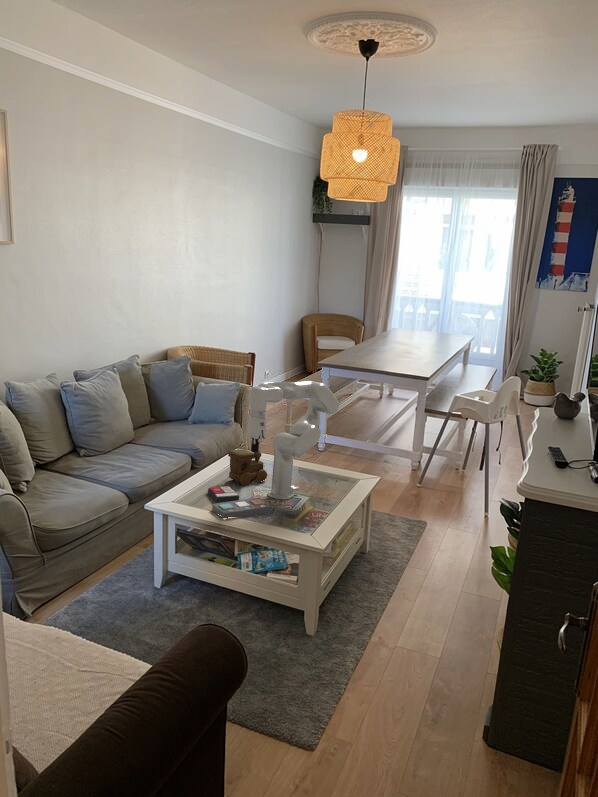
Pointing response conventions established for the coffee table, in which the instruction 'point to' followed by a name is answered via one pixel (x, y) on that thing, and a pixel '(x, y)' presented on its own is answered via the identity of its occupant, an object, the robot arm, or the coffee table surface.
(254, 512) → the dark grey flat block
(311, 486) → the coffee table surface
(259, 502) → the terracotta key
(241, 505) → the cream key
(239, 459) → the wooden toy train
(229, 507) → the teal key
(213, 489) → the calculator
